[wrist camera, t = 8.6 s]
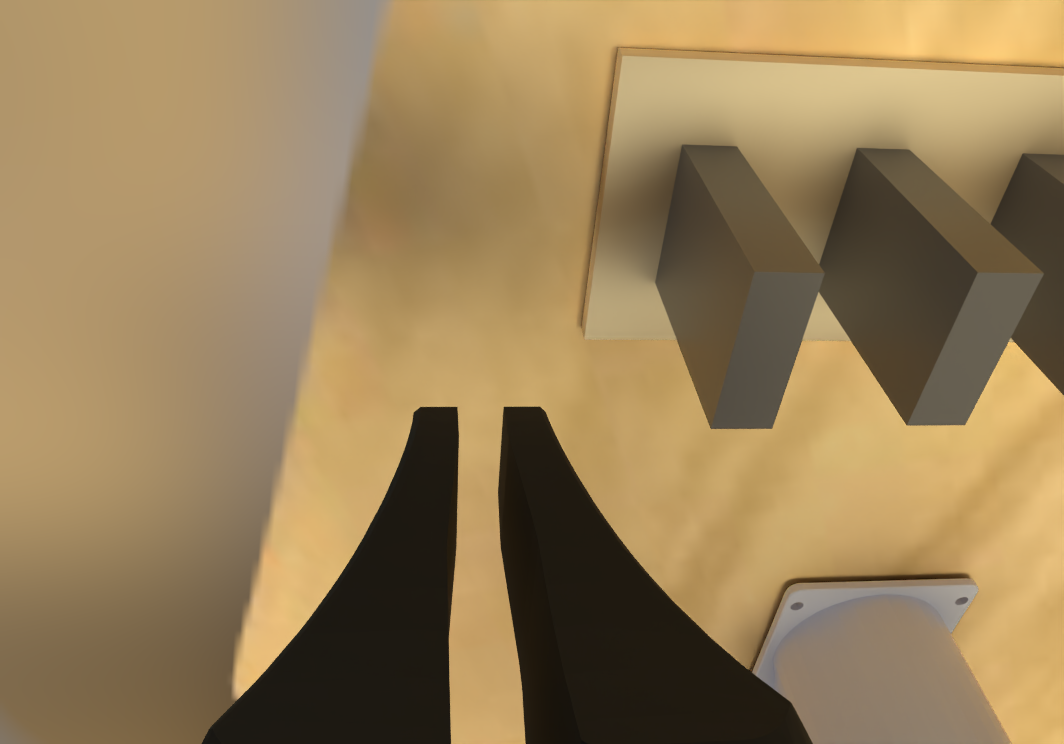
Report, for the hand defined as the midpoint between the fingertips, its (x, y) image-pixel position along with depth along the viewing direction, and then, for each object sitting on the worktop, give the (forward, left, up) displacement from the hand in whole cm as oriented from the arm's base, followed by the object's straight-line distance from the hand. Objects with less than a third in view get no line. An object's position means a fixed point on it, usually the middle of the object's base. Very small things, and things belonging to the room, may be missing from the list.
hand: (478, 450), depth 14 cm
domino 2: (0, -11, -9) cm, 14 cm away
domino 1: (0, -6, -9) cm, 11 cm away
